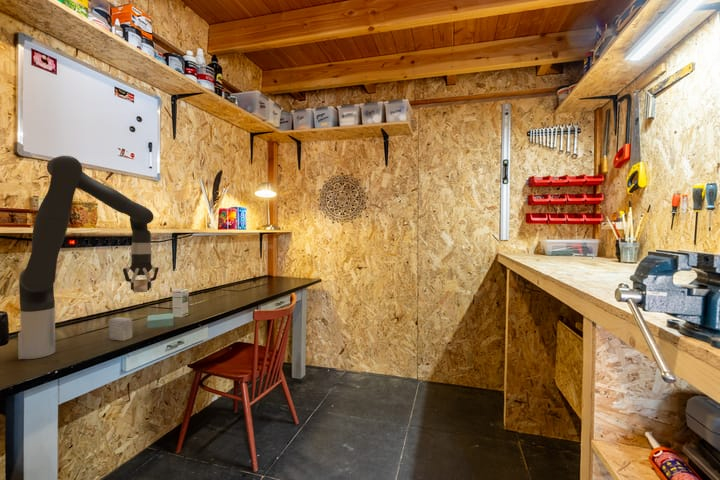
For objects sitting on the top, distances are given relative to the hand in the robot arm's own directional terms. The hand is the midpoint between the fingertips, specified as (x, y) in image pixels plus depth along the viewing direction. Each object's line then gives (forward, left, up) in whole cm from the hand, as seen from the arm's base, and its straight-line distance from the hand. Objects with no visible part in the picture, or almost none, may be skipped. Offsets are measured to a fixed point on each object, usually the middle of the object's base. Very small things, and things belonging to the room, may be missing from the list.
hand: (141, 290), depth 151 cm
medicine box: (-7, -5, -20) cm, 22 cm away
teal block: (+7, +13, -20) cm, 25 cm away
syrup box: (+16, +26, -20) cm, 36 cm away
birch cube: (0, 0, 0) cm, 0 cm away
